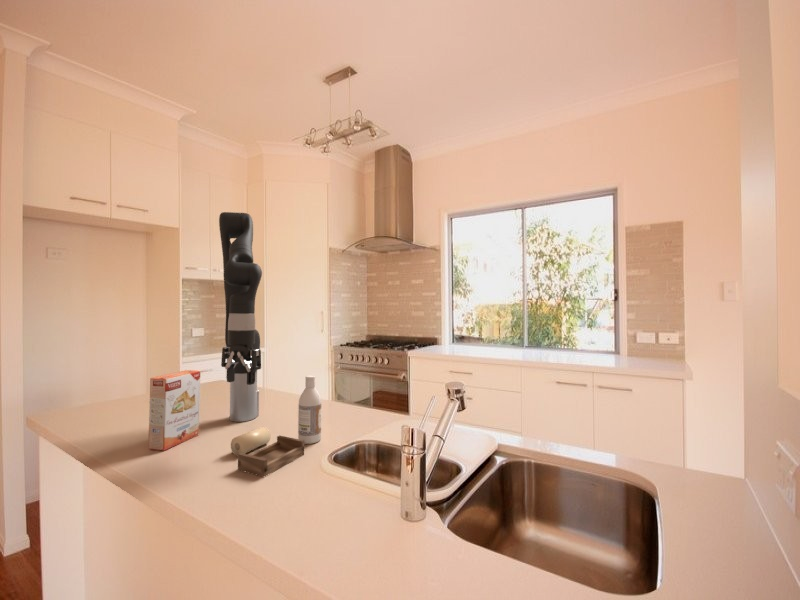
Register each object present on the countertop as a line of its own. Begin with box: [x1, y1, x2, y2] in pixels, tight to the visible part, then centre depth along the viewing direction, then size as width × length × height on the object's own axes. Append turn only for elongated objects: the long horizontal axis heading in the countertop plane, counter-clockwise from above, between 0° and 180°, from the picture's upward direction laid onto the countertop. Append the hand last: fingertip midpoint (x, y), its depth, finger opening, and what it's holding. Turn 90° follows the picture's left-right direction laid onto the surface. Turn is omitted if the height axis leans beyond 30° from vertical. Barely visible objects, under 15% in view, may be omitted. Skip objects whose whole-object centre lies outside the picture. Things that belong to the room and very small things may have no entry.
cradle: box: [237, 434, 305, 477], centre depth 101 cm, size 15×9×4 cm, turn 155°
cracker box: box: [148, 369, 201, 452], centre depth 114 cm, size 14×6×21 cm, turn 168°
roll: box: [230, 426, 271, 456], centre depth 109 cm, size 10×5×5 cm, turn 155°
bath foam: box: [297, 375, 322, 445], centre depth 116 cm, size 7×7×20 cm
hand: (240, 383), depth 111 cm, fingers open, 8 cm apart
